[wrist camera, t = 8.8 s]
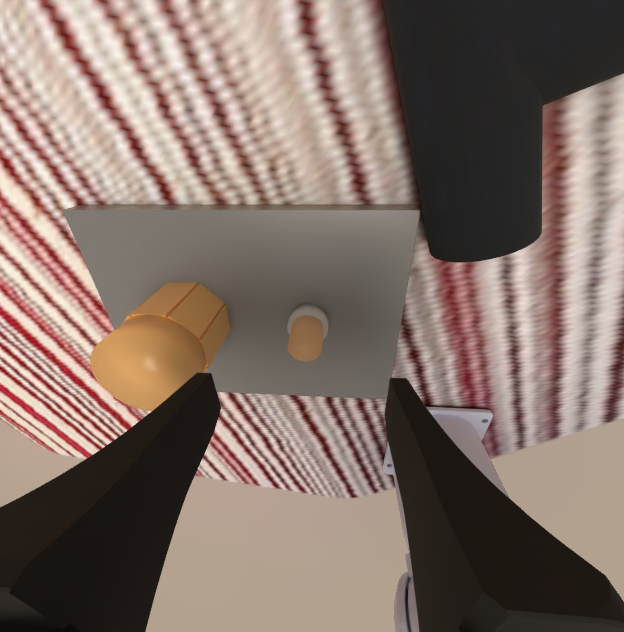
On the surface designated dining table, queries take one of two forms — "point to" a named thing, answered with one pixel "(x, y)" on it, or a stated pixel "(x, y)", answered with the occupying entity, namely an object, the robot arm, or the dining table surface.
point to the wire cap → (161, 345)
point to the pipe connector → (491, 107)
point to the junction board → (268, 285)
